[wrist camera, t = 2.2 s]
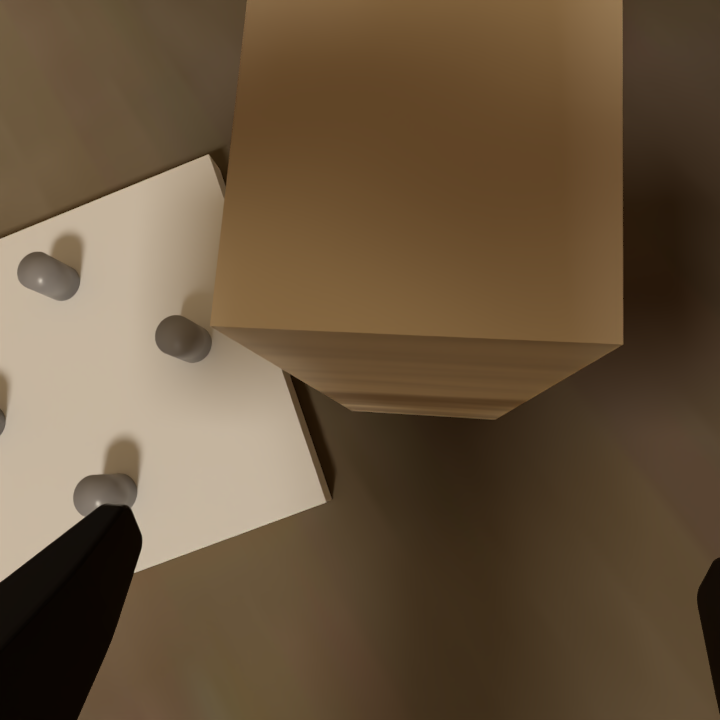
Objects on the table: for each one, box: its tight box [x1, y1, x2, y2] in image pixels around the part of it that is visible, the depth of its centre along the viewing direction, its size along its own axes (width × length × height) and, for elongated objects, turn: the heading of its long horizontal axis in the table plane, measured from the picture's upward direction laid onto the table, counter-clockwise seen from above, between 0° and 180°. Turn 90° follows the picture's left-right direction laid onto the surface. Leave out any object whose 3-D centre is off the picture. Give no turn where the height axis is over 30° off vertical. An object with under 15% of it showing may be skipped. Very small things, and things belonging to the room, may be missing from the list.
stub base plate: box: [0, 154, 332, 582], centre depth 21 cm, size 14×14×3 cm
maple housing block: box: [210, 0, 623, 420], centre depth 15 cm, size 5×5×14 cm
